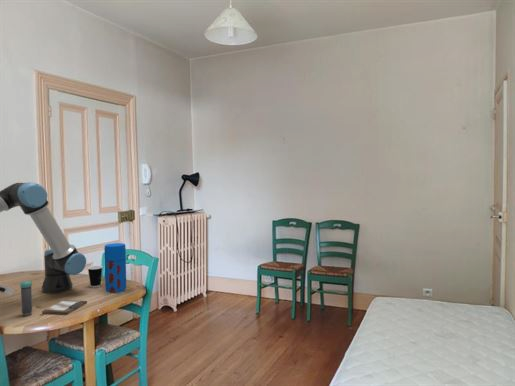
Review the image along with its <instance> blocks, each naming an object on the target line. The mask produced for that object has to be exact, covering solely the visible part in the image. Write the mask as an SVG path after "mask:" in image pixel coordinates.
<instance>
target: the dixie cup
mask: <svg viewBox="0 0 515 386" xmlns="http://www.w3.org/2000/svg"><path fill="white" fill-rule="evenodd" d="M87 271H88V276H89V283H90V284H89V285H90V287H91V288H92V287H93V288H94V287H95V288H99V286H100V287H101V284H102V275H103V273H102V272H103V265H92V266H89V267H87ZM95 288H94V289H95Z"/></svg>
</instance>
